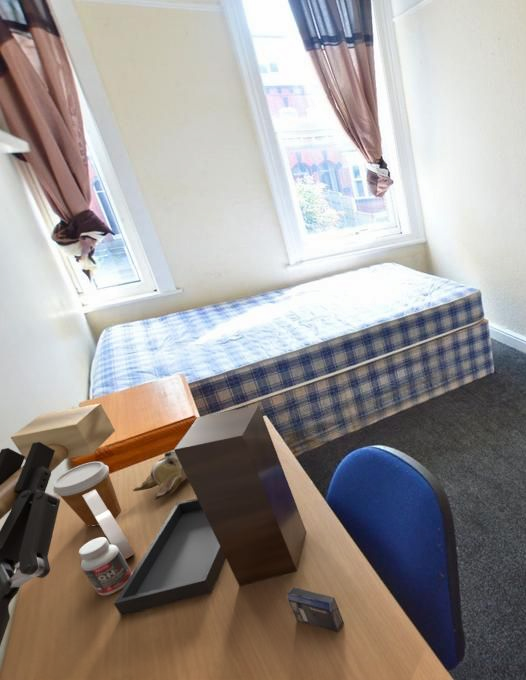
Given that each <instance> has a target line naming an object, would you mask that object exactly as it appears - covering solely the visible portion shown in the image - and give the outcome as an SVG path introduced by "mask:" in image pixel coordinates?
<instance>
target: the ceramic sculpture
mask: <svg viewBox="0 0 526 680" xmlns="http://www.w3.org/2000/svg"><path fill="white" fill-rule="evenodd" d="M186 479H188V478H187V476H186V474H185V472H184V470H183V468H182V466H181V464H180V462H179V460H178V457H177V455H176V453H175V451H174V450H170V451H167V452H165V453H164V457H163V458H160V459H159V460H158V461H157V462H155V463H154V464H153V465H152V467H151V469H150V475H148V476H147V477H146V479H145V480H144V481H143V482H142V483H141V485H139V486H137V487H134V488H133V489H132V491H133V492H140V491H145V490H150V489H153V488H155V487H157V486H158V488H157V492H156V495H155V497H154V500H159V499H162V498H164V497H166V496H168V495H171V494H172V493H174V492H175V491H176V490H177V488H178V487H179V486H180V484H181V483H182V482H183V481H185V480H186Z"/></svg>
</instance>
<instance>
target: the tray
mask: <svg viewBox="0 0 526 680" xmlns="http://www.w3.org/2000/svg"><path fill="white" fill-rule="evenodd" d="M226 560H227V559H226V557H225V555H224V553H223V551H222V549H221V547H220V545H219V543H218V541H217V539H216V536H215V534H214V532H213V530H212V528H211V526H210V524H209V522H208V520H207V518H206V516H205V514H204V512H203V509H202V507H201V505H200V503H199V501H198V499H197V497H195V498H193V499H187V500H184V501H179V502H176V503H175V505H174V506H173V508H172V510H171V511H170V513H169V515H168V516H167V518H166V519H165V521H164V522H163V524H162V526H161V527H160V528H159V530H158V532H157V533H156V535H155V537H154V538H153V539H152V542H151V543H150V544H149V546H148V548H147V550H146V551H145V553H144V554H143V556H142V558H141V559H140V561H139V562H138V564H137V565H136V567H135V569H134V570H133V571H132V575H131V577H130V578H129V580H128V582H127V583H126V585H125V586H124V587H123V588H122V589H121V591H120V593H119V594H118V596H117V597H116V599H115V601H114V602H113V605H114V607H115V608H116V610H117V611H118V612H119V615H120V616H121V617H123V616H127V615H130V614H135V613H138V612H142V611H146V610H150V609H154V608H158V607H161V606H165V605H169V604H173V603H177V602H180V601H184V600H188V599H192V598H195V597H200V596H203V595H208V594H211V593H213V590H214V588H215V585H216V583H217V581H218V578H219V575H220V573H221V571H222V569H223V566H224V563H225V561H226Z"/></svg>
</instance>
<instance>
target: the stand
mask: <svg viewBox="0 0 526 680" xmlns="http://www.w3.org/2000/svg"><path fill="white" fill-rule="evenodd" d="M173 451H175V453H176V455H177V457H178V460H179V462H180V464H181V466H182V468H183V470H184V472H185V474H186V476H187V478H186V479H187V480H188V482H189V484H190V486H191V490H193V493H194V495H195V498H197V499H198V501H199V503H200V505H201V507H202V509H203V512H204V514H205V516H206V518H207V520H208V522H209V524H210V526H211V528H212V530H213V532H214V534H215V536H216V539H217V541H218V543H219V545H220V547H221V549H222V551H223V553H224V555H225V557H226V559H225V560H226V561H227V563H228V565H229V568H230V570H231V572H232V574H233V576H234V578H235V580H236V582H237V584H238V586H239V587H240V586H245V585H248V584H252V583H257V582H261V581H264V580H267V579H272V578H275V577H280V576H283V575H287V574H291V573H294V572H298V568H299V564H300V560H301V556H302V551H303V547H304V543H305V539H306V534H307V530H306V527H305V524H304V521H303V518H302V517H301V513H300V510H299V508H298V506H297V503H296V501H295V498H294V494H293V493H292V490H291V489H292V488H291V487H290V484H289V481H288V479H287V476H286V474H285V471H284V469H283V466H282V463H281V460H280V458H279V455H278V452H277V450H276V447H275V445H274V442H273V439H272V437H271V434H270V432H269V428H268V426H267V423H266V420H265V419H264V415H263V413H262V409H261V408H260V405H259V404H256V405H251V406H247V407H246V406H245V407H241V408H237V409H232V410H227V411H222V412H217V413H212V414H207V415H202V416H197V418H196V419H195V421H194V422H193V424H192V425H191V426H190V428H189V429H188V430H187V432H186V433H185V434H184V436H183V437H182V438H181V439H180V440H179V442H178V444H176V446H175V448H174V449H173Z"/></svg>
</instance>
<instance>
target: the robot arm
mask: <svg viewBox="0 0 526 680" xmlns="http://www.w3.org/2000/svg"><path fill="white" fill-rule="evenodd" d="M54 452H55V450H53V449H51V448H49V447H48V446H46V445H44V444H42V443H40V442H36V443H33V444H32V446H31V449H30V451H29V454H28V456H27V459H26V460H25V459H24V458H25V456H23V455H22V454H21V453H20V452H17V451H15V450H13V449H12V448H9V447H6V448H2V449H0V485H1V484H2V483H4V482H5V481H6V480H7V479H8V478H9V477H11V476H12V475H13V474H14V473H15V472H17V471H18V470H19V469H20V468H21V467H22V466H23V469H22V471H21V474H20V476H19V479H18V481H17V484H16V486H15V489H14V492H16V493H18V494H20V495H19V497H18V498H17V500H16V502H15V504H14V506H13V508H12V509H11V510H10V511H9V512H8V515H7V517H6V519H5V521H4V523H3V525H2V526H1V528H0V646H2V642H3V639H4V637H5V633H6V631H7V628H8V625H9V623H10V619H11V614H10V610H9V609H10V603H11V602H12V600H13V599H14V598H15V597H16V596H17V594H18V593H19V591H20V588H21V586H22V585H25V584H26V583H28V582H29V581H31V580H33V579H34V578H37V579H38V578H39V579H43V578H46V577H47V576H48V575H49V574H50V572H51V566H50V562H49V552H50V549H51V543H52V539H53V534H54V531H55V527H56V526H55V525H56V521H57V518H58V517H57V516H58V513H59V507H60V504H61V499H60V498H59V497H57V496H55V495H52V494H50V493H48V492H46V490H47V487H48V484H49V481H50V479H51V477H52V472H51V470H49V466H50V463H51V461H52V458H53V455H54ZM24 461H25V462H24Z"/></svg>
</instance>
